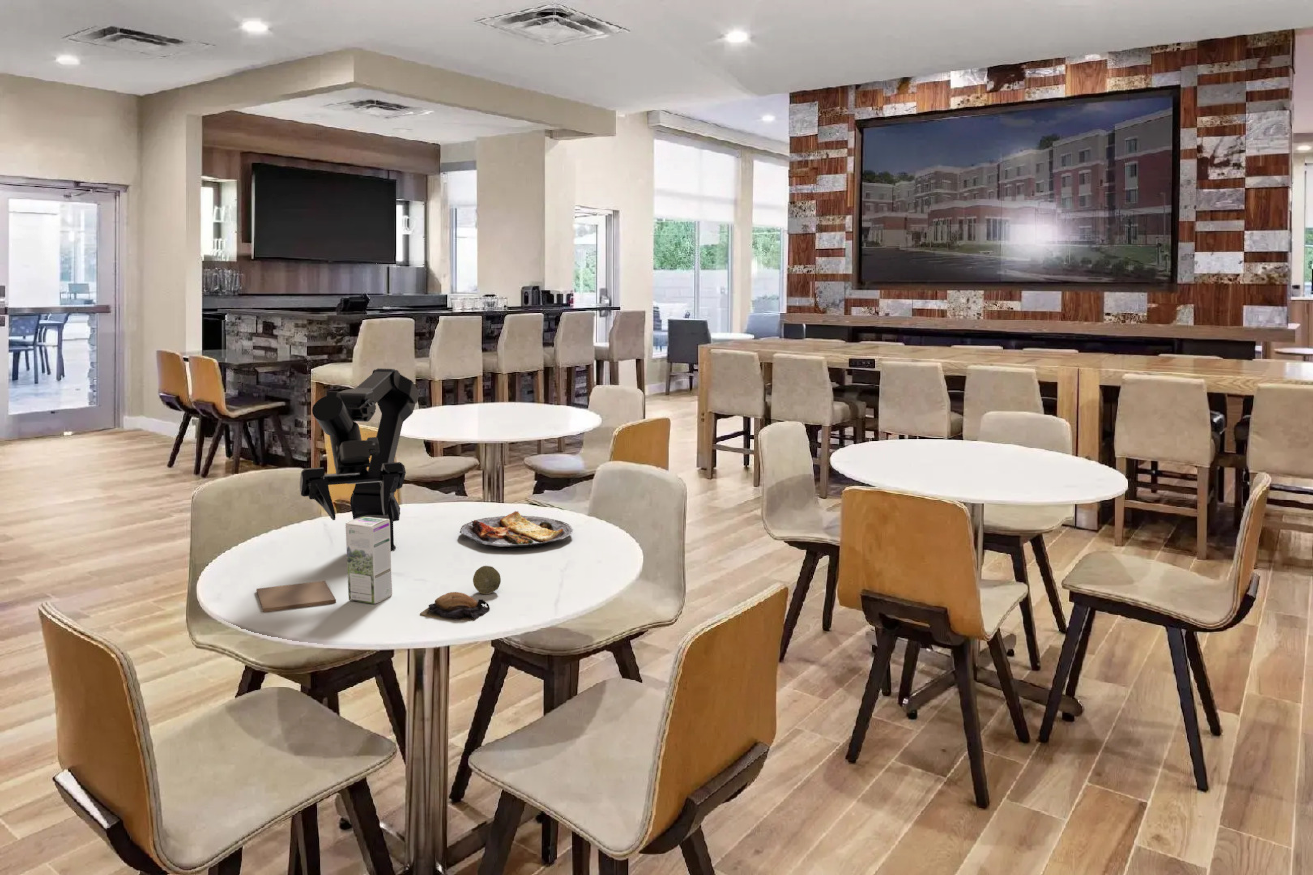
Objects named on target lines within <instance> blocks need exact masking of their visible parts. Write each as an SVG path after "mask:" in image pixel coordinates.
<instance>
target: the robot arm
mask: <svg viewBox="0 0 1313 875" xmlns="http://www.w3.org/2000/svg"><path fill="white" fill-rule="evenodd" d="M418 400H419V389H418V388H417V386H416V385H415V383H414V382H413V381H412V379H409V378H408V377H405V375H402V374H401V372H400V371H399V370H398V369H395V368H379V367H378V368H376V369H373V370H372V373H371V375H370V376H368V377H367V378H366V379H364V380H363V382H361V383H359V385H358V386H356V387H354V388H348V389H345V390H342V391H331V390H330V391H327V392H326V396H323V397H321V398H319V399H318V400H317V401H316V402H315V403H314V404H313V405H312V409H311V412H312V416H313V417H314V419H315V420H316V421H317V423H318V424H319V427H321V429H322V431H323V432H324V434H326V435H328V436H329V439H330V446H331V452H332V457H333V464H334V465H333V466H334V470H335V473H325V472H326V471H325V468H324V466H322V467H308V468H303V469H302V471H301V473H300V479H299V491H300V492H299V493H300V496H302V497H304V498H305V497H308V498H309V500H315V502H317V504H318V505H320V506H321V508H323V510H324V511H325V512H326V513H327V515H328V516H329V517H330V519H331V520H332V521H336V518H337V517H336V511H335V506H334V503H333V499H332V497H331V493H330V489H329V486H333V485H345V484H347V485H354V487H353V490H352V493H351V496H350V499H349V500H350V501H349V502H350V509H351V515H352V520H354V519H356V518H359V517H373V518H382V519H389V520H390V544H391V550H396V549H397V547H396V545H395V541H394V539H395V538H394V536H395V535H394V522H397V521H398V522H399V521H400V515H401V506H400V504H399V502H398V501H397V499H396V497H395V495H396V494H395V493H396V492H397V490H400V489H402V488H403V484H404V482H405V478H406V477H405V476H406V474H407V473H406V466H405V464H403V463H402V462H401V461H397V462H395V460H396V459H395V458H396V454H397V449H398V446H399V441H400V436H401V432H402V428H403V424H404V422H405V421H406V420H407V419H408V418H409V417H411V415H413V413H414V410H415V407H416V404H417V403H418ZM376 404H377V405H376ZM377 406H378V408H379V412H380V413H381V416H380V421H379V425H378V427H377V433H376V436H373V437H372V436H371V437H367V439H364V440H363V439H362V436H361V429H360V425H359V423H357V422H362V423H364V422H365V423H366V422H367V423H368V422H369V421H370V420H372V418H373V416H374V415H375V413H376V410H377Z"/></svg>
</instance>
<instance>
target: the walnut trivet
mask: <svg viewBox="0 0 1313 875" xmlns="http://www.w3.org/2000/svg"><path fill="white" fill-rule="evenodd" d="M256 594H257V596H258V601H259V602H260V605H261V608H262V612H263V613H266V612H273V611H274V612H275V611H276V612H277V611H283V610H290V609H297V608H304V607H305V608H306V607H313V606H319V605H321V606H322V605H329V604H336V603H337V599H336V597H335V595H334V594H333V592H332V590H331V589H330V586H329V584H328V583H327V582H326V580H319V581H311V582H309V581H308V582H302V583H294V584H285V585H278V586H269V587H260V588H259V587H258V588H256Z"/></svg>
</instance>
